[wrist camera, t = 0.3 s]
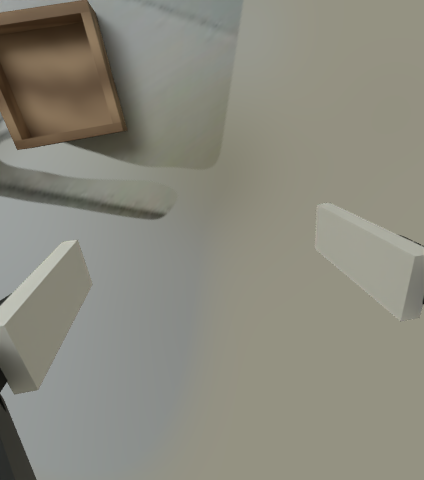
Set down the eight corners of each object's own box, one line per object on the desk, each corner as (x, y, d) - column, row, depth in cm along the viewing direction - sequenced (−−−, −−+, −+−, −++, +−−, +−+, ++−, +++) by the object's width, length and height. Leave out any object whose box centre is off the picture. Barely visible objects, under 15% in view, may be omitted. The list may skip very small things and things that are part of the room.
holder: (-19, 30, 31) (-41, 18, 27) (95, 12, 31) (86, -1, 28) (31, 148, 36) (17, 149, 33) (127, 130, 37) (123, 130, 33)
